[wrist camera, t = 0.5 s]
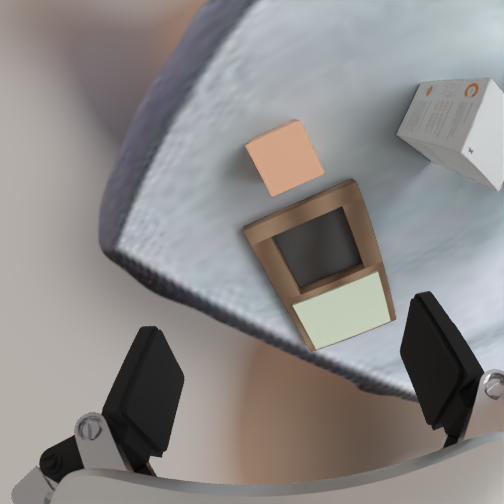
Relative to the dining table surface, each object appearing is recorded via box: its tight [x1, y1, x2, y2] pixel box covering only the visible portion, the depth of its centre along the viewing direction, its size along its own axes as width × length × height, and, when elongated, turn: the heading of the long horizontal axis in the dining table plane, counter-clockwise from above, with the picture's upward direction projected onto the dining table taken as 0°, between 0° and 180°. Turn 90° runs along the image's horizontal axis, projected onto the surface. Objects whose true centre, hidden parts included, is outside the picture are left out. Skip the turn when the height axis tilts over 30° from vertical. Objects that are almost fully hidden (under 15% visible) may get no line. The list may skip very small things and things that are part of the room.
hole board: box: [243, 179, 396, 352], centre depth 35 cm, size 14×22×2 cm, turn 27°
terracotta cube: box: [245, 119, 325, 197], centre depth 27 cm, size 6×6×6 cm
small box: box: [396, 78, 504, 192], centre depth 20 cm, size 8×6×13 cm
